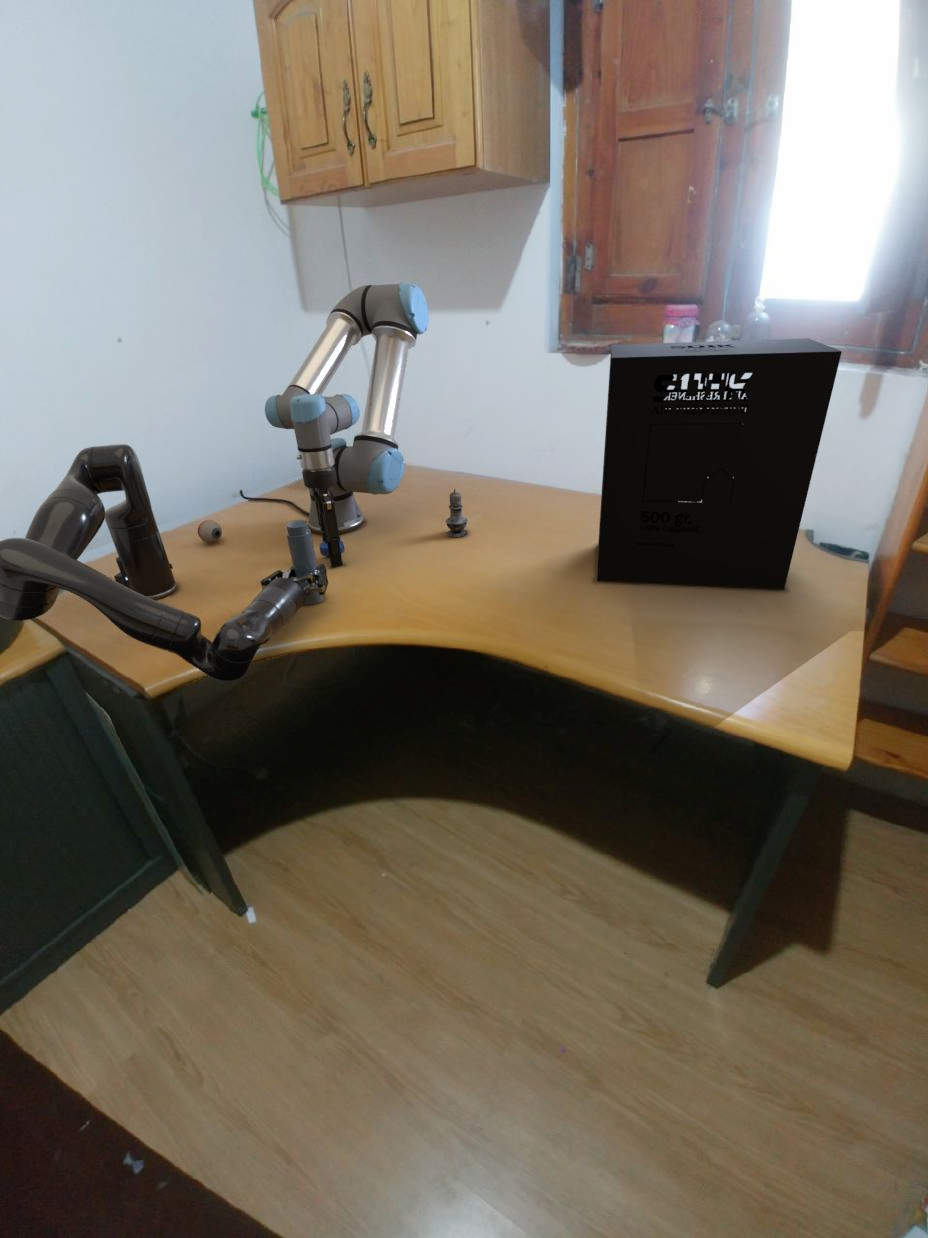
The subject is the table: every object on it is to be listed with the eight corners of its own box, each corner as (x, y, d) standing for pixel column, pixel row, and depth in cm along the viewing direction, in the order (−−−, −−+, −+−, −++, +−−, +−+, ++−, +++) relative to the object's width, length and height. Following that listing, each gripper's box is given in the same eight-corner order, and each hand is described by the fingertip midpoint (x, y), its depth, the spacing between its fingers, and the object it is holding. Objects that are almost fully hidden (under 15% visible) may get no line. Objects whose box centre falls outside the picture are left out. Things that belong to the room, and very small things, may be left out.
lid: (316, 552, 147) (314, 544, 146) (337, 545, 150) (335, 537, 149) (327, 558, 143) (326, 550, 142) (348, 551, 146) (347, 543, 145)
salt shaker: (466, 537, 156) (463, 492, 150) (444, 537, 157) (440, 492, 151) (470, 529, 161) (468, 485, 155) (449, 528, 162) (446, 485, 156)
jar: (323, 592, 133) (308, 518, 125) (323, 602, 129) (308, 526, 121) (300, 596, 133) (284, 521, 124) (300, 606, 129) (283, 529, 120)
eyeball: (211, 547, 159) (205, 526, 156) (196, 543, 162) (190, 522, 159) (229, 539, 163) (224, 518, 160) (214, 536, 166) (209, 515, 164)
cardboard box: (763, 549, 141) (808, 338, 118) (784, 589, 124) (841, 351, 101) (598, 544, 148) (611, 344, 126) (596, 581, 131) (611, 357, 109)
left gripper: (246, 619, 119) (284, 581, 133) (314, 623, 116) (345, 583, 131) (237, 585, 115) (277, 550, 129) (307, 588, 112) (340, 551, 127)
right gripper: (295, 460, 143) (312, 550, 154) (308, 480, 128) (326, 578, 139) (326, 455, 145) (341, 544, 157) (343, 475, 130) (358, 572, 142)
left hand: (311, 567), depth 130 cm, fingers closed on jar, 5 cm apart
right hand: (334, 560), depth 148 cm, fingers closed on lid, 6 cm apart
